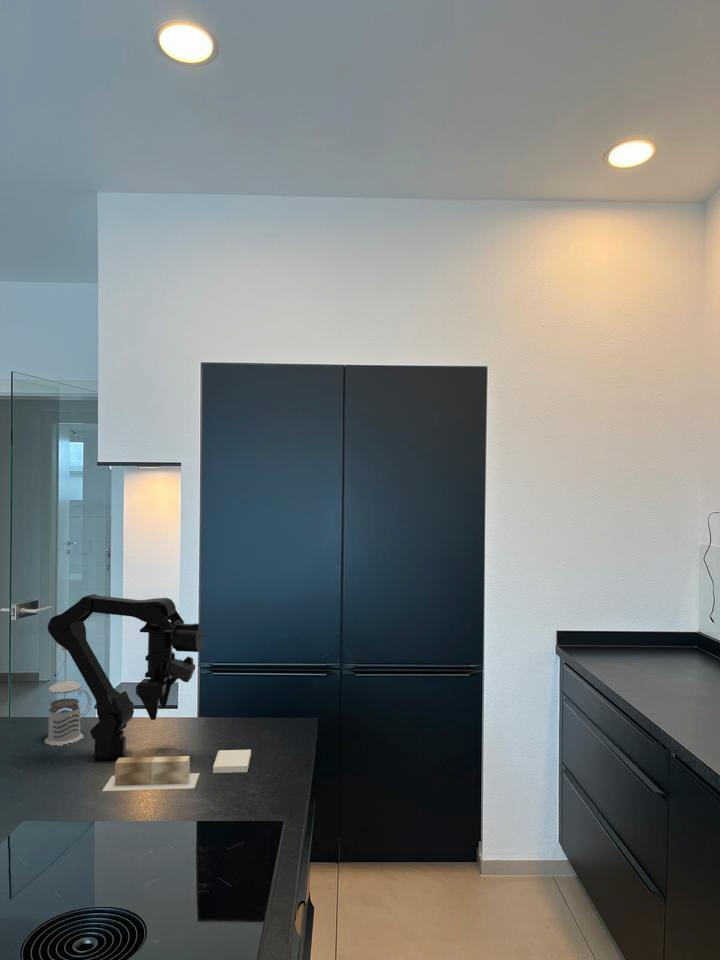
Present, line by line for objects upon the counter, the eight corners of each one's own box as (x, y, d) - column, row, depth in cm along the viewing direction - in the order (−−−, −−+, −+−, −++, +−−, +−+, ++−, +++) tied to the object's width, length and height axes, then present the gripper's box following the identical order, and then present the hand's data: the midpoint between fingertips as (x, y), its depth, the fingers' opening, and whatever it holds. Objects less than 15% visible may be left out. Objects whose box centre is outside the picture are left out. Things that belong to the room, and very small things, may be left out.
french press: (39, 737, 183) (40, 644, 183) (83, 728, 190) (84, 638, 191) (50, 748, 175) (51, 651, 176) (96, 738, 183) (97, 645, 183)
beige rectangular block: (114, 785, 152) (115, 763, 152) (118, 779, 155) (118, 757, 155) (187, 783, 154) (187, 761, 154) (189, 777, 157) (189, 755, 157)
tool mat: (102, 793, 150) (102, 790, 150) (112, 778, 158) (112, 775, 158) (194, 790, 151) (194, 788, 151) (199, 775, 159) (199, 773, 159)
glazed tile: (213, 766, 159) (247, 765, 160) (218, 750, 169) (250, 749, 170) (213, 777, 159) (247, 776, 160) (218, 760, 169) (250, 759, 170)
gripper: (183, 660, 159) (182, 727, 159) (200, 642, 178) (199, 701, 177) (135, 659, 159) (134, 726, 159) (157, 641, 177) (156, 701, 177)
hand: (158, 713), depth 168 cm, fingers open, 9 cm apart
